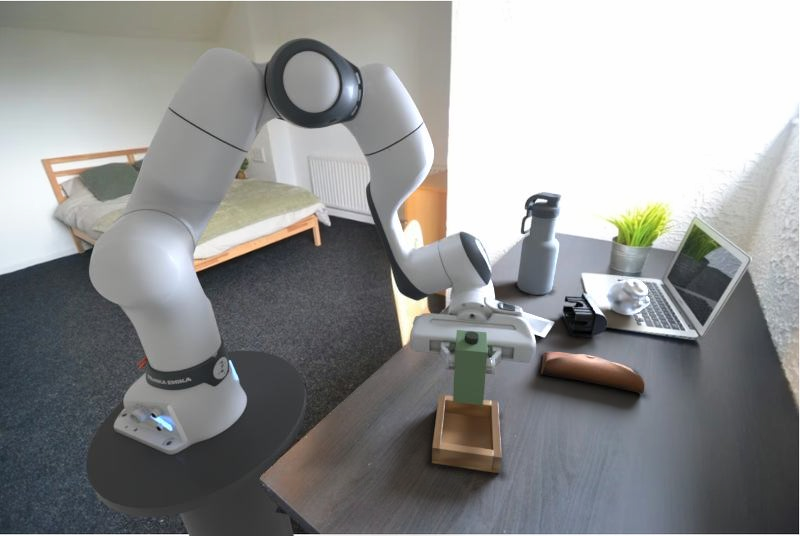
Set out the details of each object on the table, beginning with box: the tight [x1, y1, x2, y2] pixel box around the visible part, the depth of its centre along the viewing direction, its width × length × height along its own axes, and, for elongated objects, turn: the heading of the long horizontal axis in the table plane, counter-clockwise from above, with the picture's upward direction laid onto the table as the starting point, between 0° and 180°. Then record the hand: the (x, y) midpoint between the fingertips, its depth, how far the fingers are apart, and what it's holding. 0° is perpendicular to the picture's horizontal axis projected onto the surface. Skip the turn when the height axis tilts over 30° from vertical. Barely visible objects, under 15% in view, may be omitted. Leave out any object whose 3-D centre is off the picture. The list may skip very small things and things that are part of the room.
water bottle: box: [516, 191, 562, 296], centre depth 104 cm, size 10×10×28 cm
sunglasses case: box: [540, 351, 645, 395], centre depth 75 cm, size 18×7×7 cm
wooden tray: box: [431, 393, 503, 474], centre depth 62 cm, size 10×11×4 cm
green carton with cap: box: [452, 330, 488, 405], centre depth 57 cm, size 4×5×11 cm
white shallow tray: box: [523, 311, 556, 338], centre depth 93 cm, size 8×15×2 cm, turn 53°
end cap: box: [562, 292, 609, 338], centre depth 90 cm, size 10×7×7 cm
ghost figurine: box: [606, 278, 651, 316], centre depth 95 cm, size 9×10×10 cm
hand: (470, 368), depth 56 cm, fingers closed on green carton with cap, 4 cm apart
